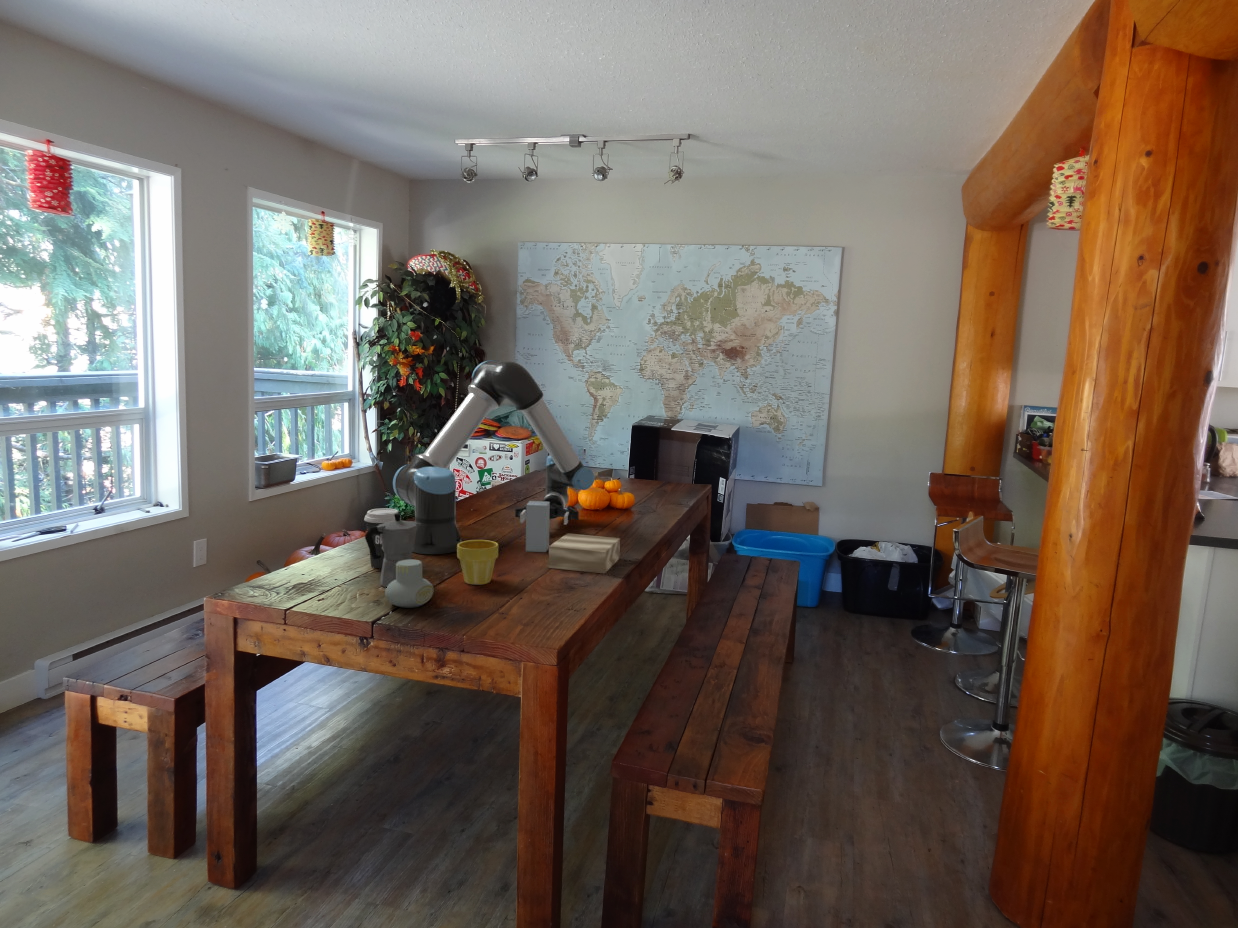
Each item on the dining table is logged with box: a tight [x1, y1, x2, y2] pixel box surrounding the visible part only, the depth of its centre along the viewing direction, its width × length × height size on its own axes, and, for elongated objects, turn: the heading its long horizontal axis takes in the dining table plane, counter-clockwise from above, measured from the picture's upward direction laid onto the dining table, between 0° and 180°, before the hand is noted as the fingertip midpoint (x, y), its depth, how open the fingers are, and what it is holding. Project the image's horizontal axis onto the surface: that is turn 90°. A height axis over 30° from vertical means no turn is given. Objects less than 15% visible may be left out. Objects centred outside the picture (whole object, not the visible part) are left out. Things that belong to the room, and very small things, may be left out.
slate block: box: [525, 500, 550, 553], centre depth 234 cm, size 6×6×14 cm
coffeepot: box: [364, 512, 421, 588], centre depth 197 cm, size 15×9×18 cm, turn 137°
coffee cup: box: [363, 507, 402, 570], centre depth 213 cm, size 10×10×15 cm
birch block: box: [548, 533, 621, 574], centre depth 221 cm, size 16×16×6 cm
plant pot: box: [456, 539, 499, 586], centre depth 202 cm, size 10×10×10 cm
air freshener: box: [384, 559, 434, 609], centre depth 183 cm, size 11×8×10 cm
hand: (543, 519), depth 241 cm, fingers open, 13 cm apart
